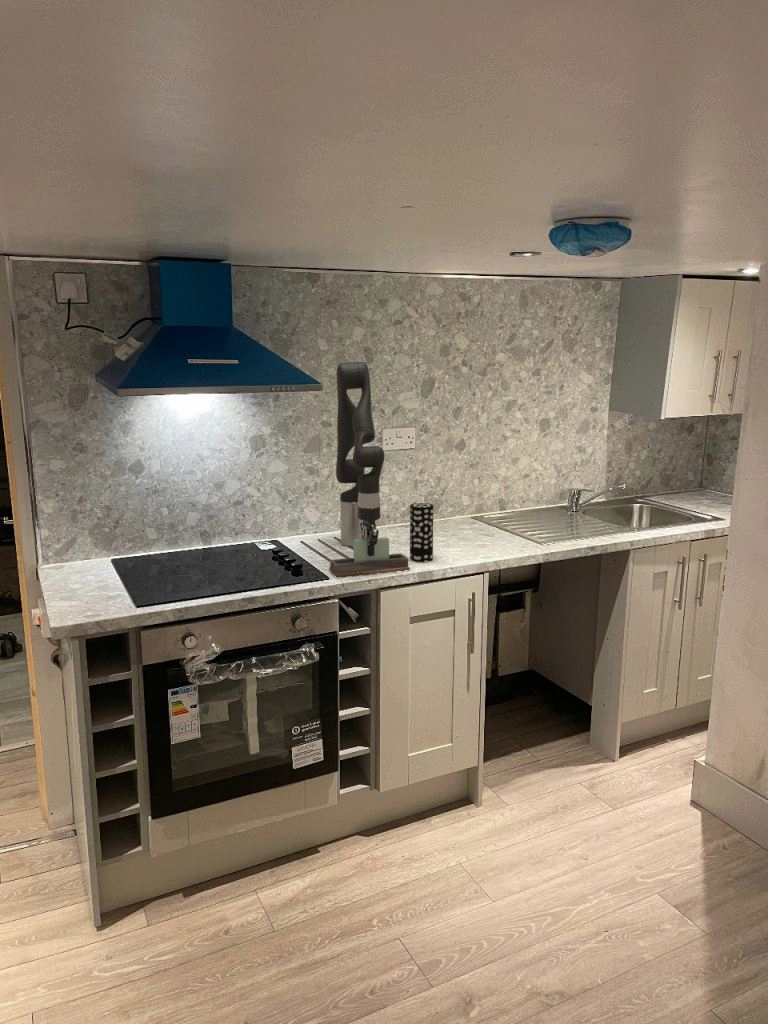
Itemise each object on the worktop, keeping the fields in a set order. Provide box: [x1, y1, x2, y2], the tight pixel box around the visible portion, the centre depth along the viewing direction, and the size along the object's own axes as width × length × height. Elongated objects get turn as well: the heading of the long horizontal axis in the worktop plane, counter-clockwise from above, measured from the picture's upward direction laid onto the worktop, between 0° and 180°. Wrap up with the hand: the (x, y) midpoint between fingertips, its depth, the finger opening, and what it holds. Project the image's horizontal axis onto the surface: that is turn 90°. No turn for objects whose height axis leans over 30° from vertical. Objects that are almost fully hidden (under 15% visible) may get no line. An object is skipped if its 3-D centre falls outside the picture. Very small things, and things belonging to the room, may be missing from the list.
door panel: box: [353, 536, 390, 562], centre depth 268 cm, size 2×12×10 cm, turn 109°
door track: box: [328, 552, 411, 578], centre depth 269 cm, size 10×26×4 cm, turn 109°
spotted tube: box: [409, 502, 434, 563], centre depth 280 cm, size 8×8×20 cm
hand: (369, 554), depth 268 cm, fingers open, 3 cm apart
